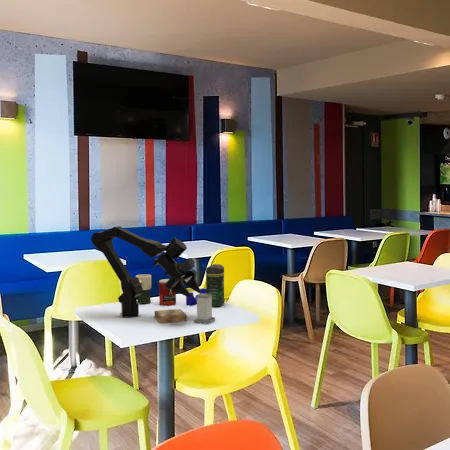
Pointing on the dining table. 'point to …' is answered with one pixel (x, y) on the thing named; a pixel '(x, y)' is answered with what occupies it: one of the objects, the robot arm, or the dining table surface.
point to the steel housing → (204, 309)
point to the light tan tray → (170, 316)
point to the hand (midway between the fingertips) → (195, 294)
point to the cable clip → (192, 300)
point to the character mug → (144, 288)
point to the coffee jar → (215, 284)
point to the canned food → (166, 294)
